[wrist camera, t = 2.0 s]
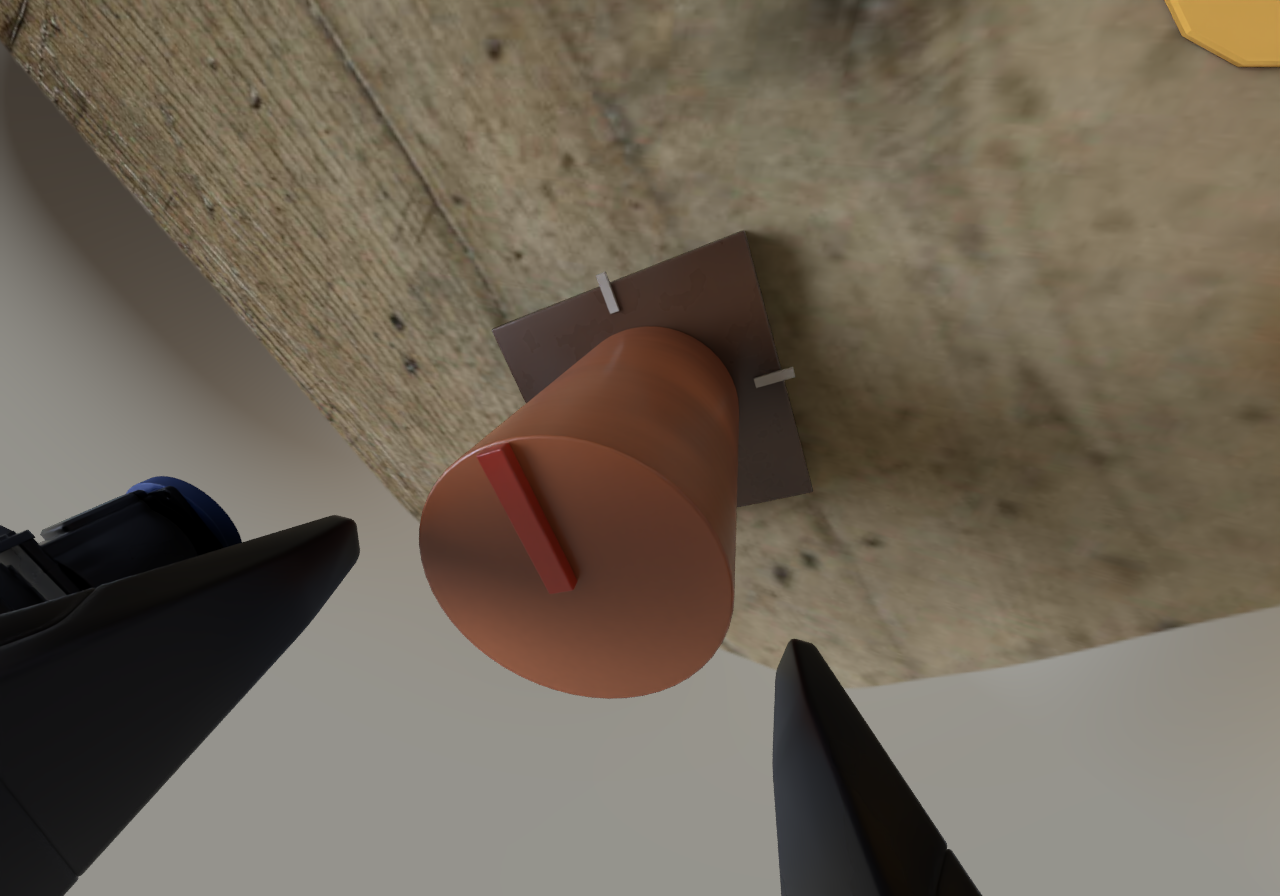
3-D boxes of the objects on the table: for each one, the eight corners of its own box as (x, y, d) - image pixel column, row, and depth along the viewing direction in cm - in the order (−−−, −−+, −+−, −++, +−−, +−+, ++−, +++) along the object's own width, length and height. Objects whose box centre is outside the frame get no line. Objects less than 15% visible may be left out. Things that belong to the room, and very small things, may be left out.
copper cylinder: (759, 465, 18) (773, 700, 9) (608, 500, 21) (499, 720, 11) (709, 300, 16) (664, 396, 7) (545, 357, 18) (348, 489, 9)
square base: (819, 475, 20) (827, 501, 18) (596, 522, 24) (583, 549, 22) (752, 213, 17) (753, 212, 15) (500, 314, 20) (475, 323, 18)
